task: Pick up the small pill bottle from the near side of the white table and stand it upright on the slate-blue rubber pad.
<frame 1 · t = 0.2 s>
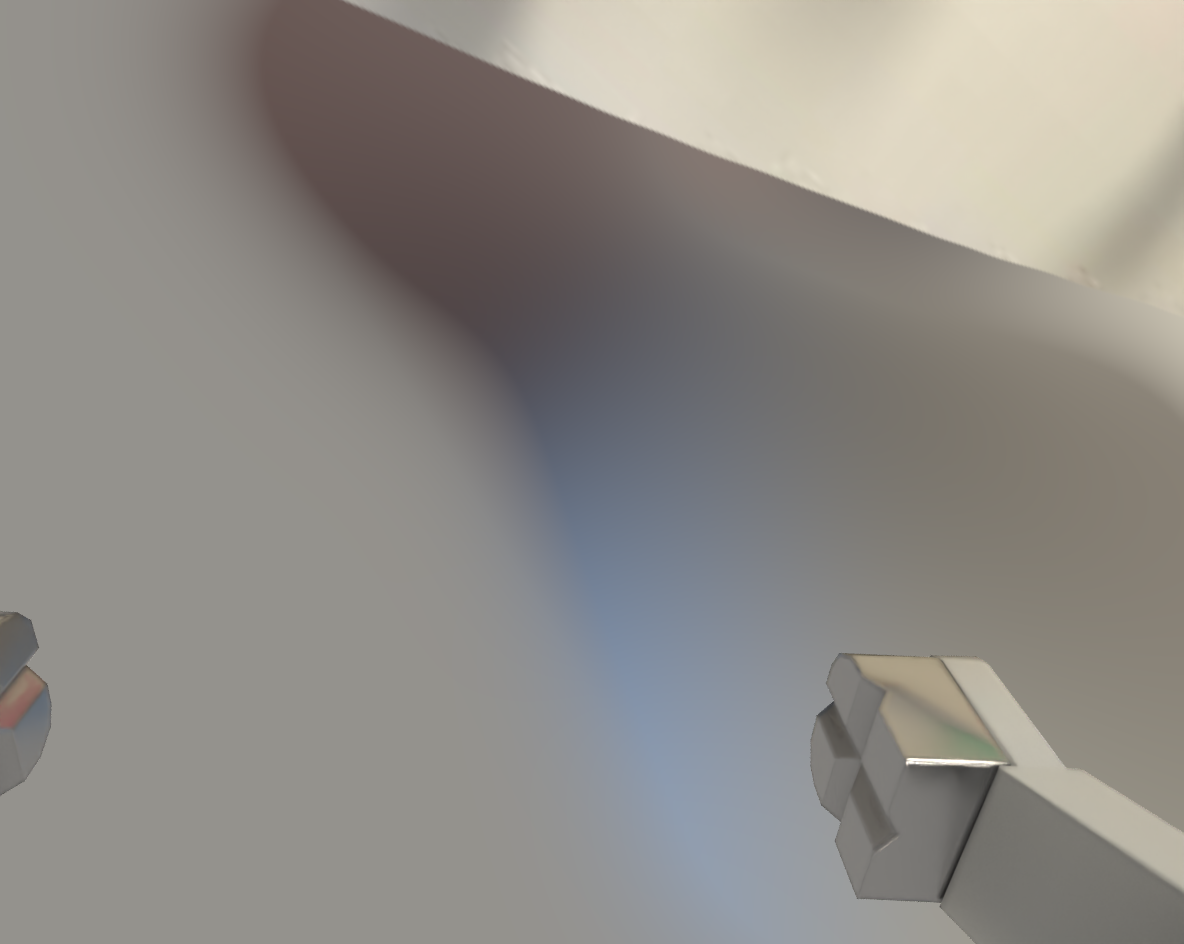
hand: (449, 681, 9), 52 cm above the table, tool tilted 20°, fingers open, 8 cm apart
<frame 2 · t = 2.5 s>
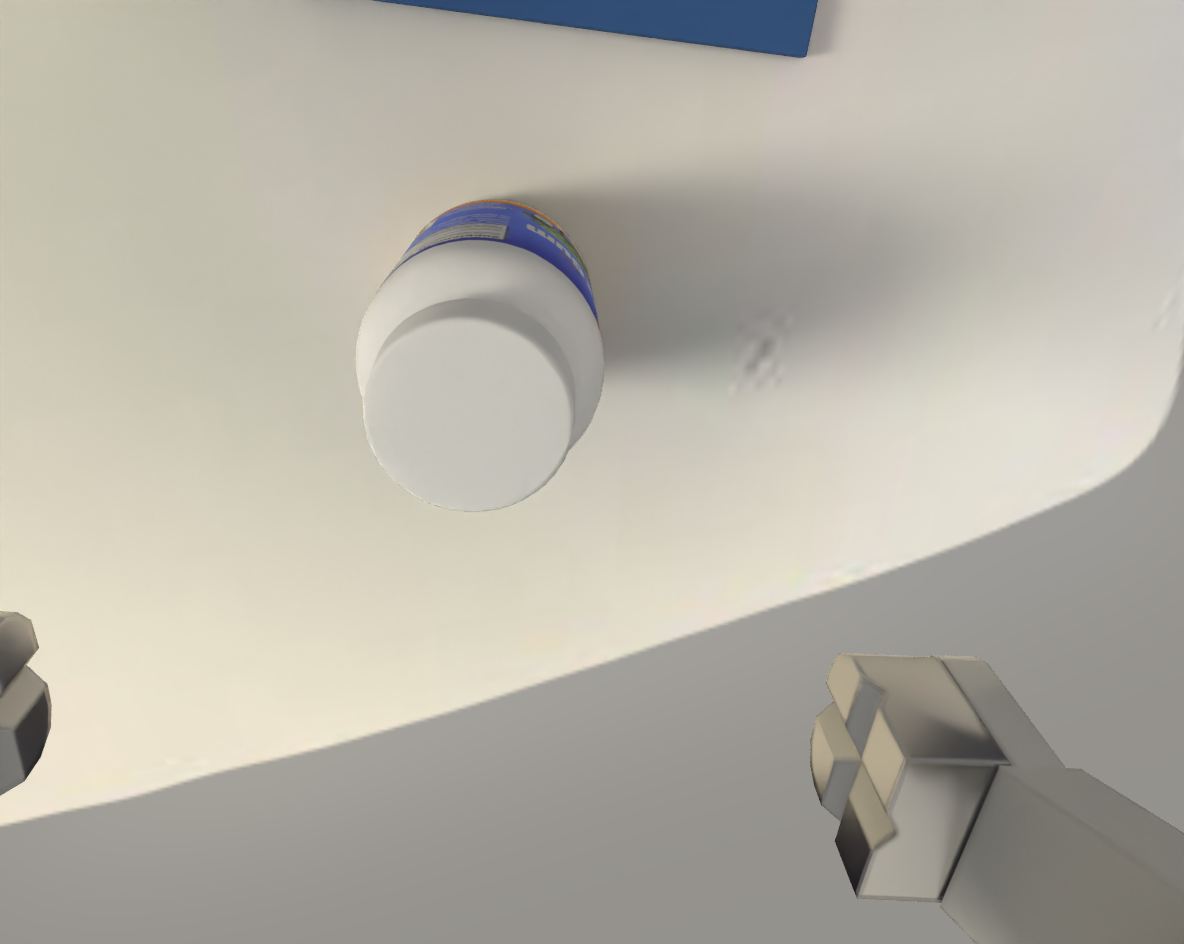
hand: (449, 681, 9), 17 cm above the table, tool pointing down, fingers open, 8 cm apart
pill bottle: (496, 290, 25), on the table
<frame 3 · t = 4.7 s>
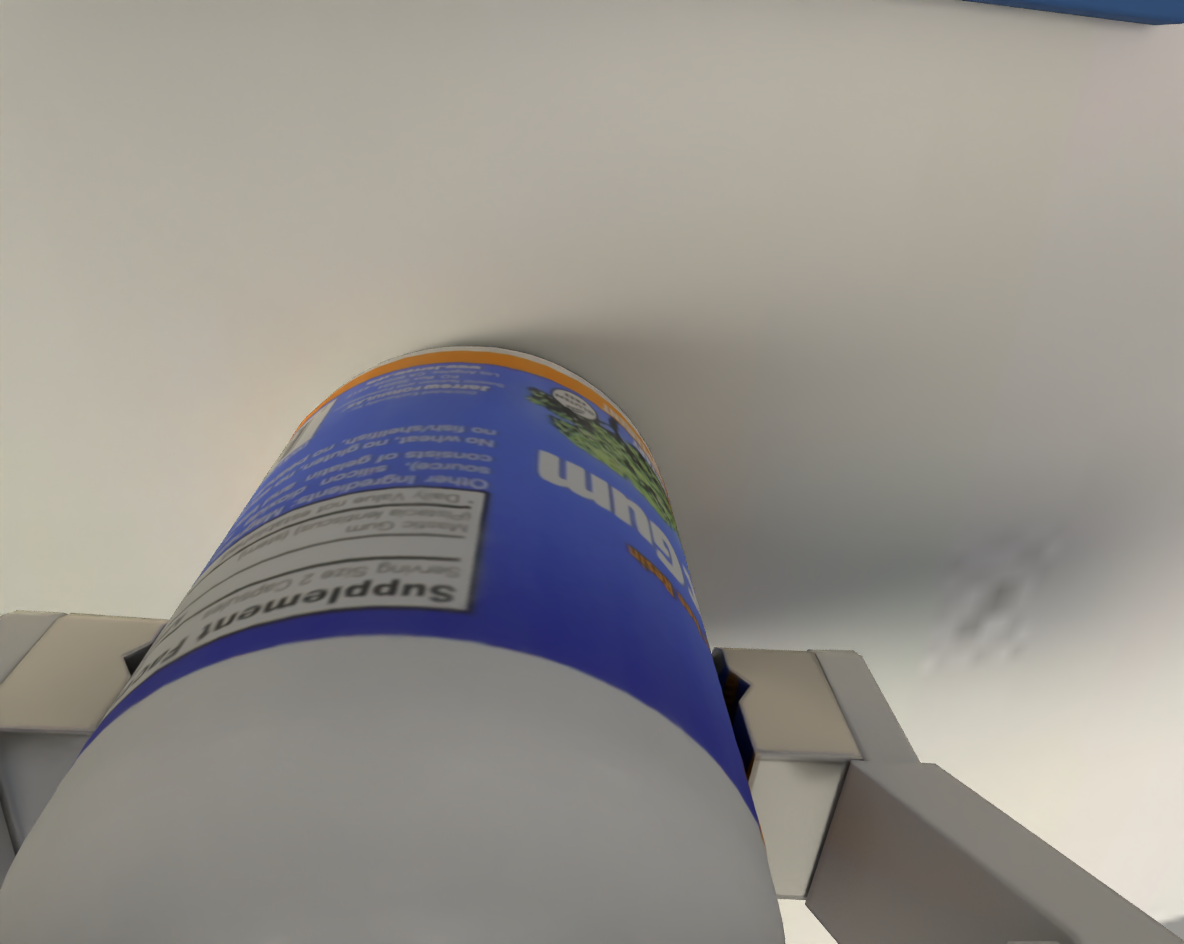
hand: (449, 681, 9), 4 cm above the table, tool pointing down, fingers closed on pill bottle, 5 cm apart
pill bottle: (476, 508, 12), on the table, touching gripper
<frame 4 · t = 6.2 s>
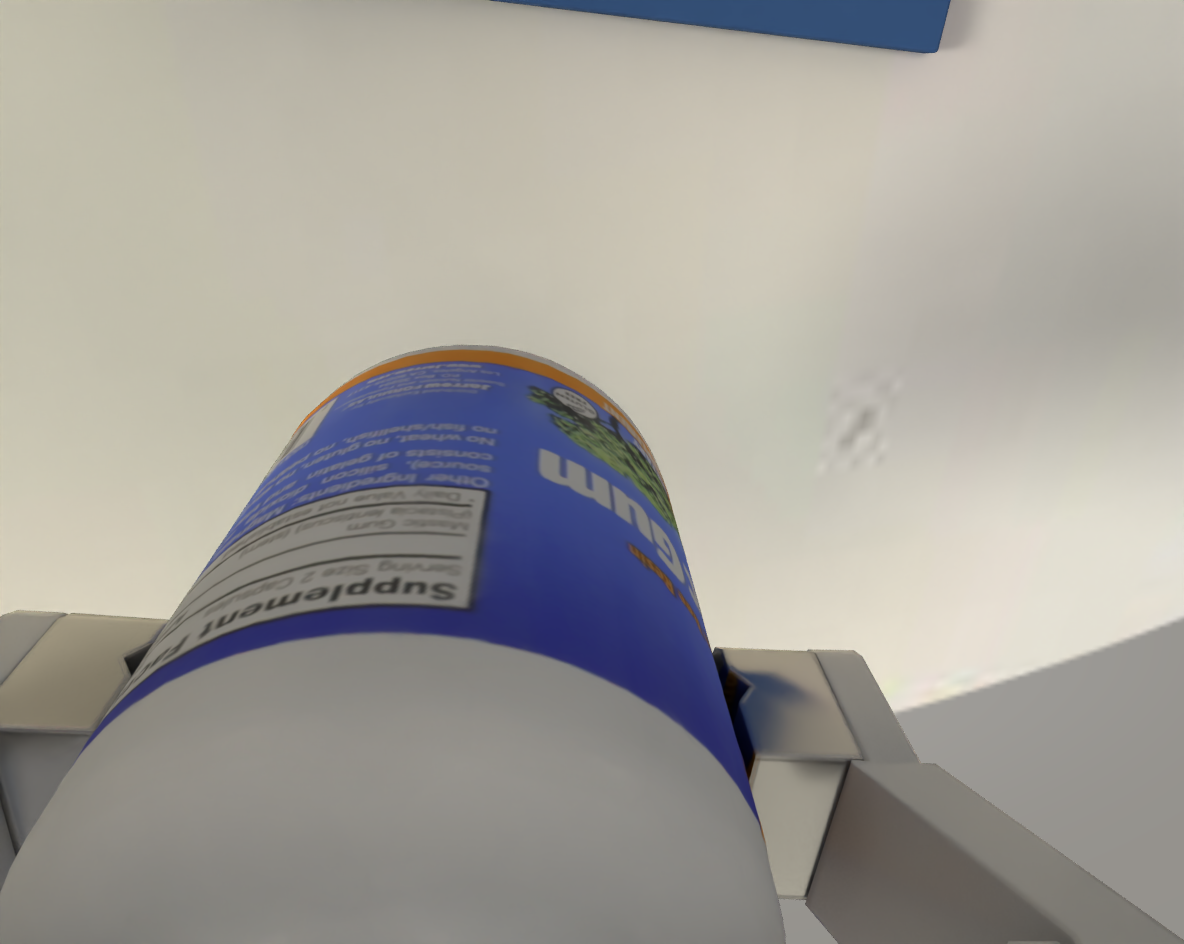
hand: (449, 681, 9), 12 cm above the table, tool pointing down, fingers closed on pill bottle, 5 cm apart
pill bottle: (477, 507, 12), point 8 cm above the table, touching gripper
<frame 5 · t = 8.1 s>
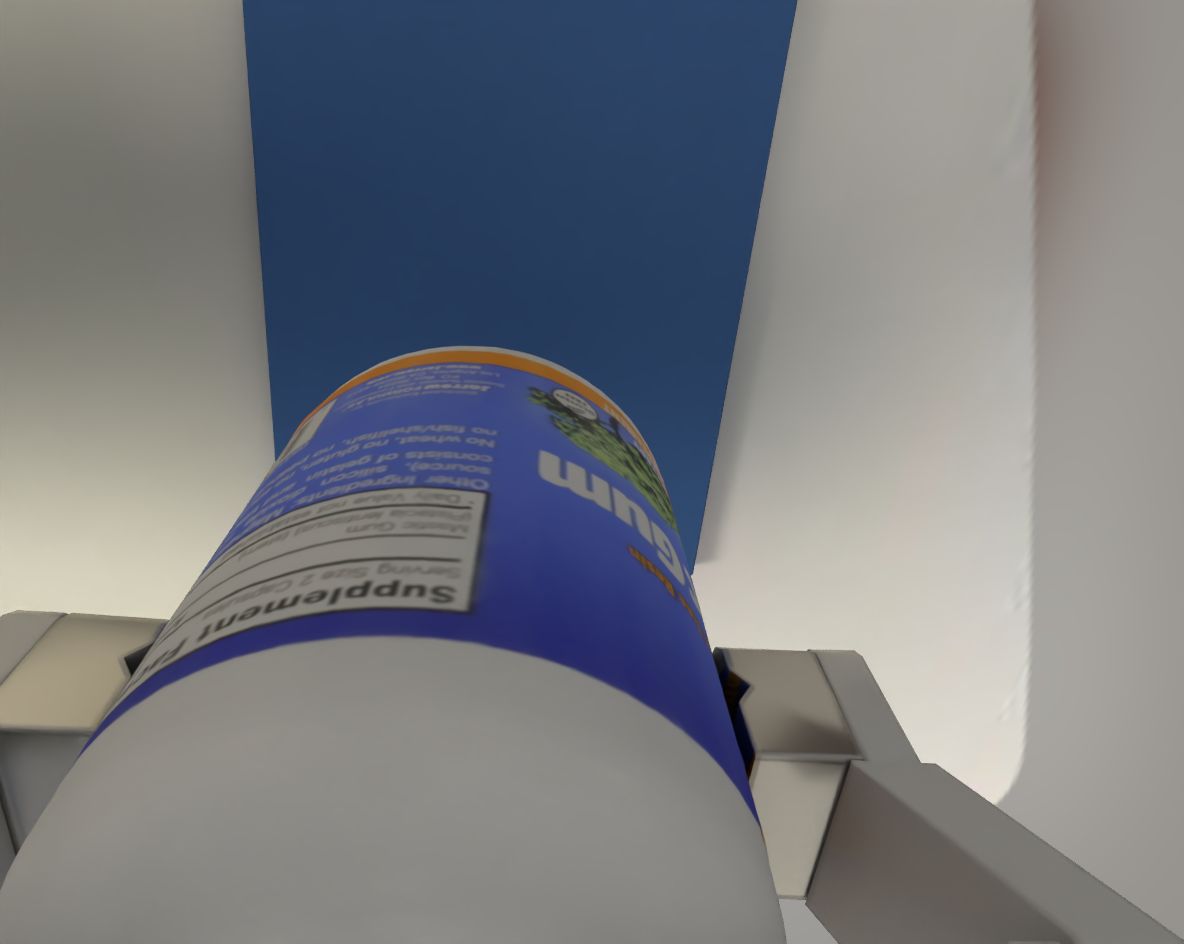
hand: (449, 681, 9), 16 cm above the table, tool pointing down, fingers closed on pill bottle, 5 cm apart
pill bottle: (476, 508, 12), point 13 cm above the table, touching gripper
blue pad: (510, 242, 23), on the table
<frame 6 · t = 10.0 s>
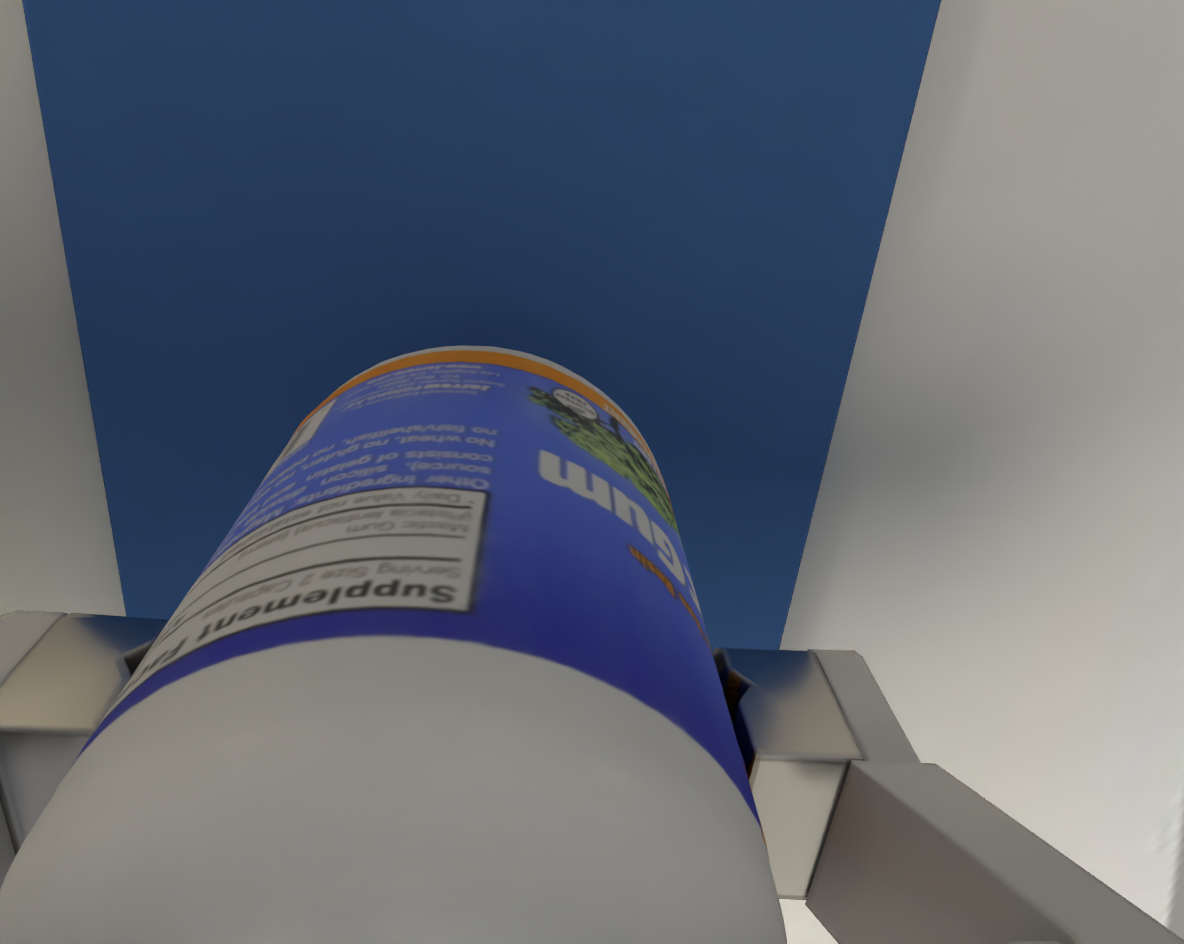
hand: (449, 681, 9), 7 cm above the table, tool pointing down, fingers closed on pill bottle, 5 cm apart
pill bottle: (476, 508, 12), point 4 cm above the table, touching gripper
blue pad: (477, 412, 15), on the table
when the fingers open (4 cm above the table, at t = 11.4 s): pill bottle stays where it is, resting on blue pad.
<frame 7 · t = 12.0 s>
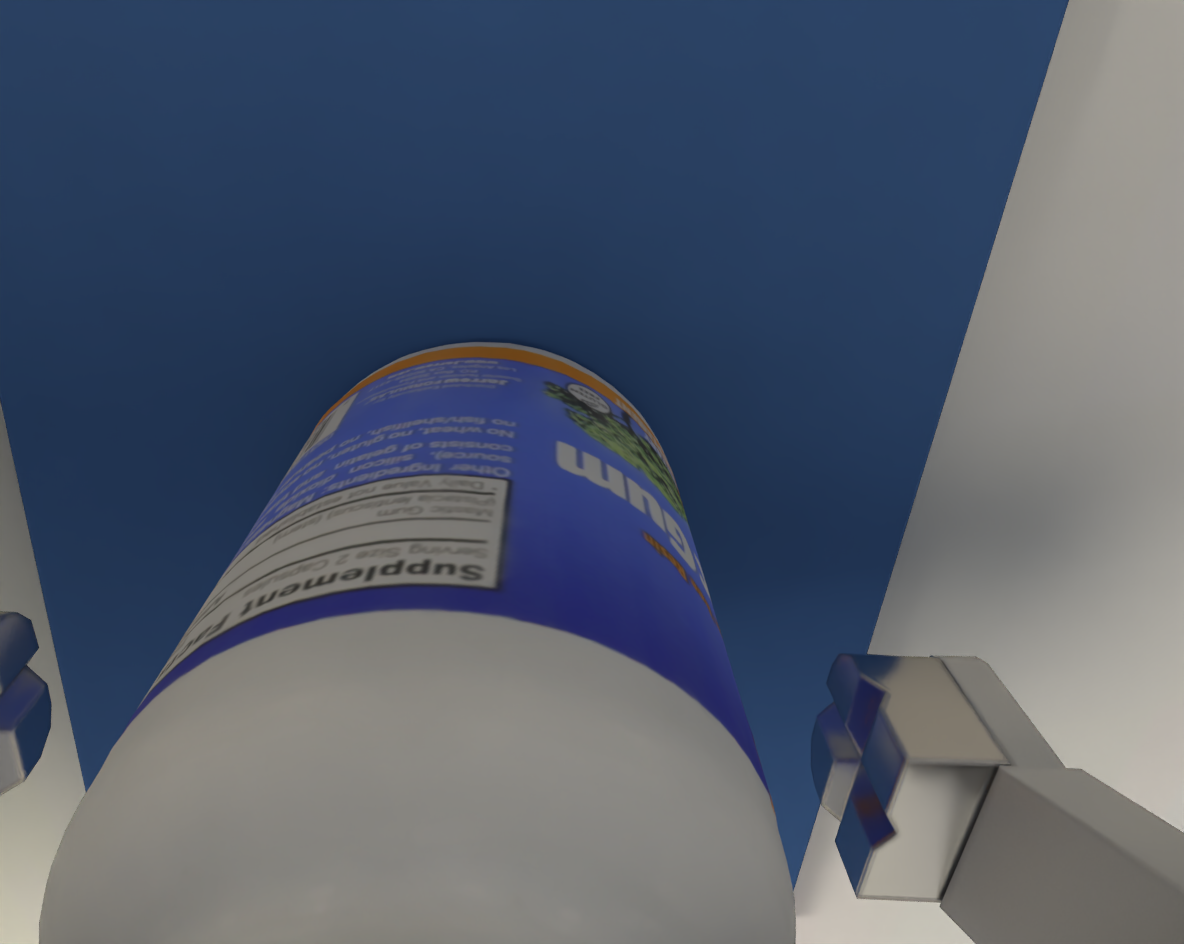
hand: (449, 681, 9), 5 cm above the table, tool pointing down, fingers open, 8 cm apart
pill bottle: (490, 500, 13), resting on blue pad
blue pad: (484, 483, 13), on the table
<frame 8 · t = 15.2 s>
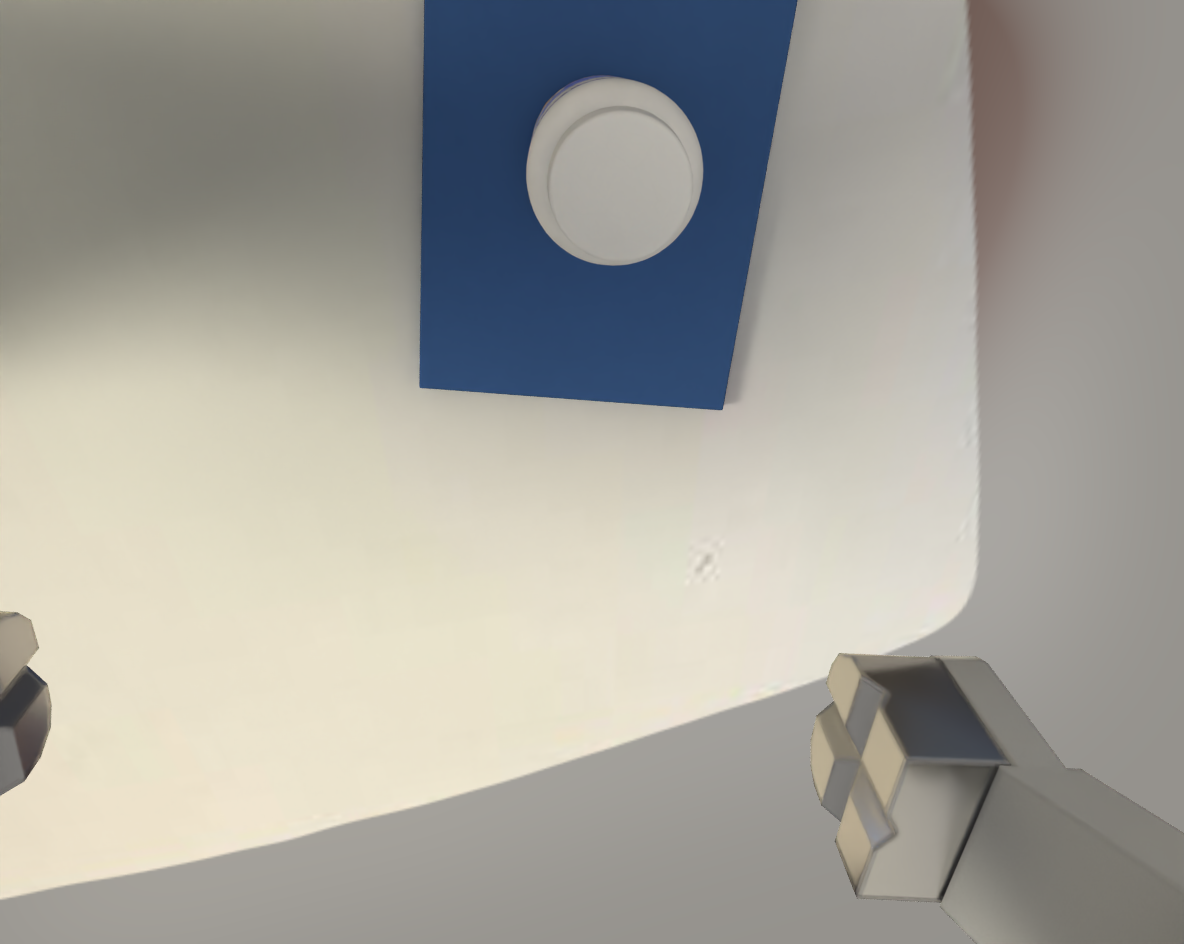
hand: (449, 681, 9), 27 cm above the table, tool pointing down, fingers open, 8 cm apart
pill bottle: (600, 152, 32), resting on blue pad
blue pad: (597, 149, 32), on the table
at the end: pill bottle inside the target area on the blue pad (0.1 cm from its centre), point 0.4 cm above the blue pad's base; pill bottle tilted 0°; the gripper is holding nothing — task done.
